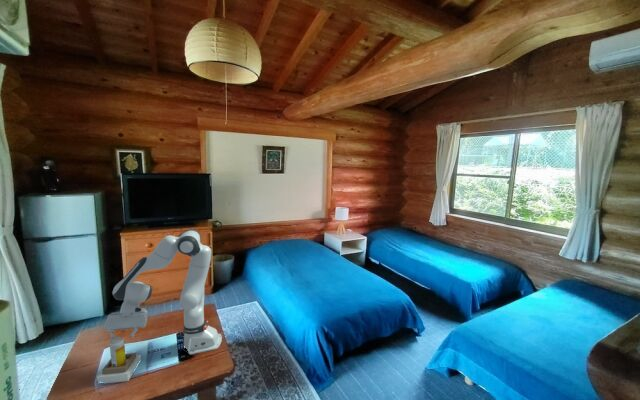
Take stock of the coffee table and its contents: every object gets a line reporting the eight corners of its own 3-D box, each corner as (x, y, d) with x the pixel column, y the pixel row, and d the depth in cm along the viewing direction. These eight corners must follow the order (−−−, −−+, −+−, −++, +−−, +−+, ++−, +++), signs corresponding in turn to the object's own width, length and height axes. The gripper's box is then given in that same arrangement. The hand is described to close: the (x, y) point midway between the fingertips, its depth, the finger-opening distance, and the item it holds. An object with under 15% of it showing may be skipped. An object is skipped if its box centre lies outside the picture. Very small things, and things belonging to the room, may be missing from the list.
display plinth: (141, 361, 154) (140, 350, 153) (128, 381, 140) (127, 369, 139) (113, 363, 151) (112, 353, 150) (97, 384, 138) (96, 372, 137)
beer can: (128, 361, 148) (126, 336, 145) (120, 370, 142) (118, 344, 139) (117, 361, 148) (115, 336, 145) (109, 370, 142) (106, 344, 139)
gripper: (106, 311, 150) (97, 339, 142) (146, 308, 153) (139, 335, 145) (111, 314, 155) (103, 341, 147) (150, 311, 159) (144, 337, 150)
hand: (121, 338), depth 146 cm, fingers open, 8 cm apart
